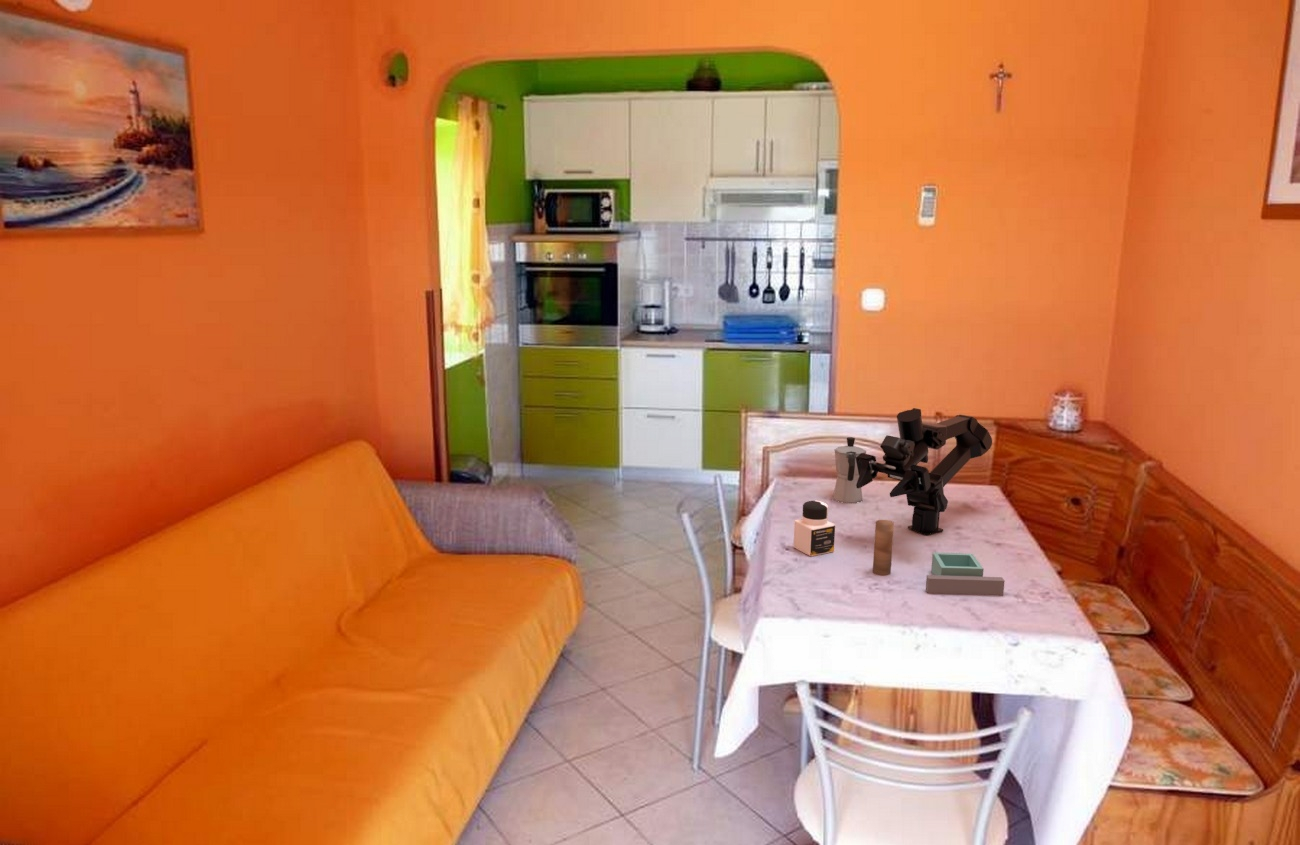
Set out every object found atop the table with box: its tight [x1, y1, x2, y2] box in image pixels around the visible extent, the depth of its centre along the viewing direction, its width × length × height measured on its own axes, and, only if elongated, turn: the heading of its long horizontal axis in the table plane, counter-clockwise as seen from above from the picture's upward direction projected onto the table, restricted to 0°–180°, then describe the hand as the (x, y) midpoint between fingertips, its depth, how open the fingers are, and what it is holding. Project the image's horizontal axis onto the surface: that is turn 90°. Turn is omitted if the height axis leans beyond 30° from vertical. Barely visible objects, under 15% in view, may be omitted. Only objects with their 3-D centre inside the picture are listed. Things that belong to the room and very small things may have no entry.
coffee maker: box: [832, 436, 867, 504], centre depth 265 cm, size 15×9×18 cm, turn 172°
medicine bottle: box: [793, 500, 836, 557], centre depth 228 cm, size 7×7×12 cm
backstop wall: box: [925, 574, 1005, 597], centre depth 204 cm, size 2×16×4 cm, turn 86°
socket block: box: [930, 552, 984, 577], centre depth 211 cm, size 9×9×4 cm
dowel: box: [872, 519, 895, 577], centre depth 214 cm, size 4×4×12 cm
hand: (873, 491), depth 222 cm, fingers open, 9 cm apart
